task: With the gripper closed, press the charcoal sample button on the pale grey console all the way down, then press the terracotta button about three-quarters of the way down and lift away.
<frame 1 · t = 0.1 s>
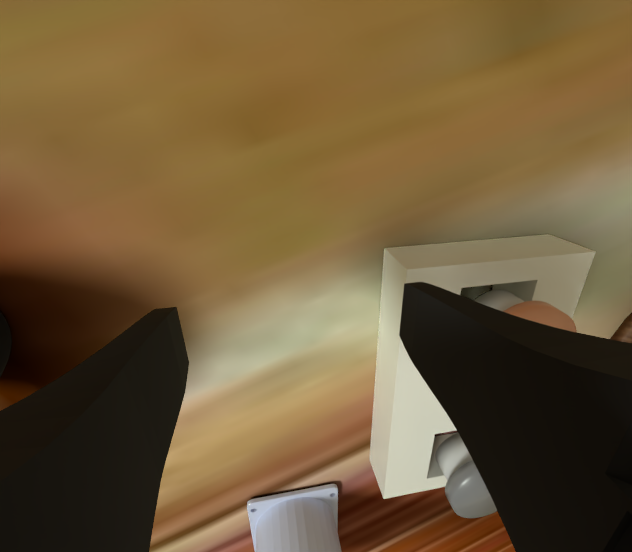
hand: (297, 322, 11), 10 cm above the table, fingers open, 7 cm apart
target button: (509, 333, 19), point 5 cm above the table, slide at 0.0 cm
sample button: (472, 470, 25), point 5 cm above the table, slide at 0.0 cm
console: (448, 360, 27), on the table
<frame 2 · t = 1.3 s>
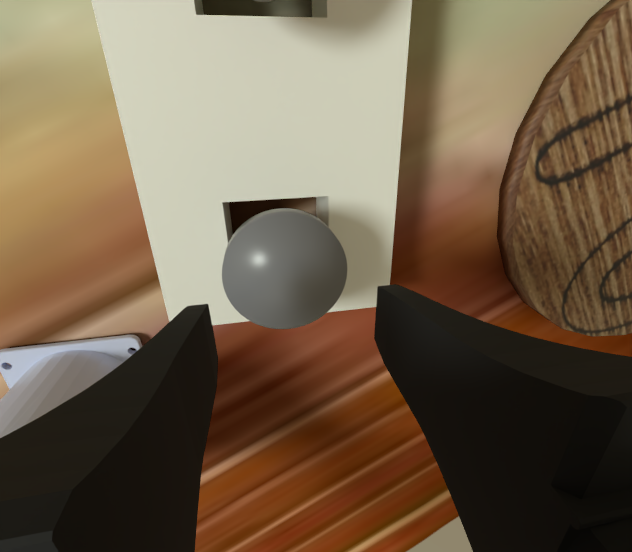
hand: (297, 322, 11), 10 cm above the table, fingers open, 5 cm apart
sample button: (282, 260, 15), point 5 cm above the table, slide at 0.0 cm
console: (267, 118, 17), on the table
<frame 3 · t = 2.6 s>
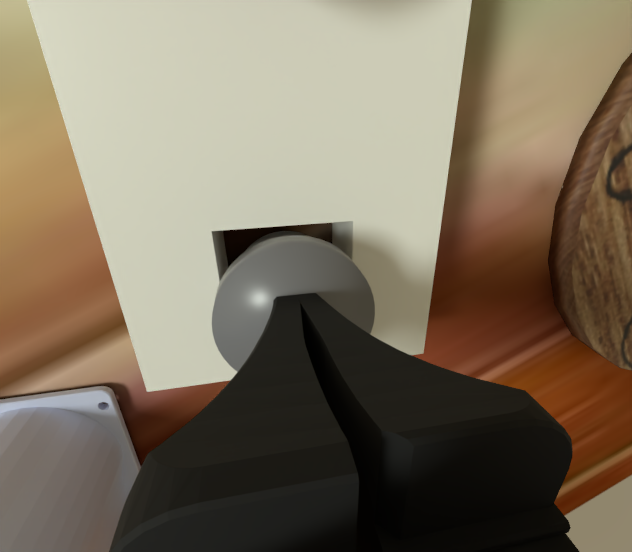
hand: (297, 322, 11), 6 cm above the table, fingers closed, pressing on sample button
sample button: (290, 297, 12), point 4 cm above the table, slide at 0.9 cm, touching gripper
console: (271, 117, 13), on the table
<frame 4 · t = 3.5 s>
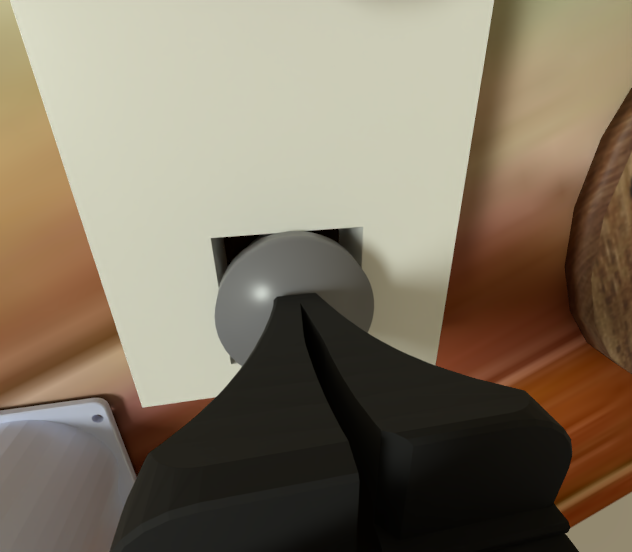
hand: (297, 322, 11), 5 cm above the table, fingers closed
sample button: (291, 292, 12), point 3 cm above the table, slide at 2.1 cm
console: (274, 115, 13), on the table
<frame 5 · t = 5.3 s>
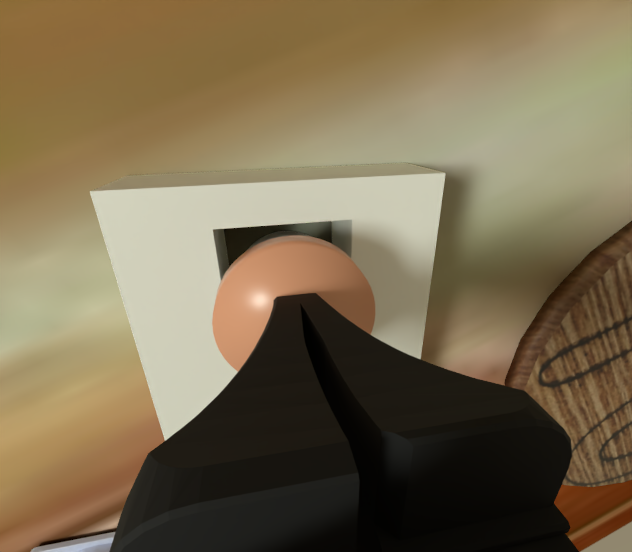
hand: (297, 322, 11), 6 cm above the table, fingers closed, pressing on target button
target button: (291, 297, 12), point 4 cm above the table, slide at 0.7 cm, touching gripper
console: (288, 355, 19), on the table
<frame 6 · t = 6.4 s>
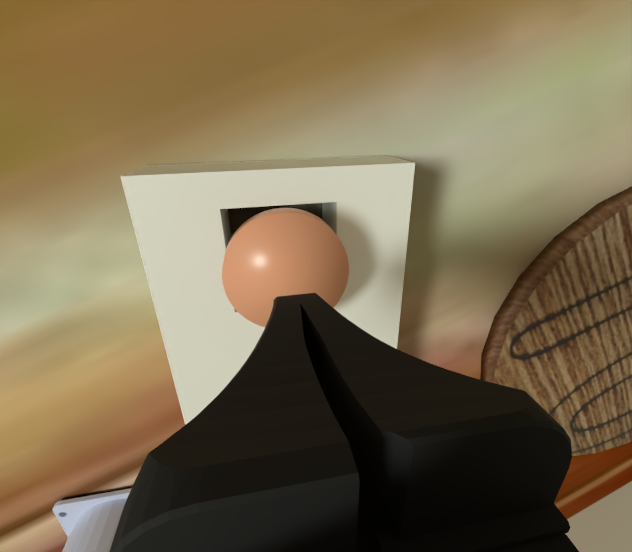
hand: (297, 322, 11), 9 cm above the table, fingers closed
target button: (283, 260, 15), point 4 cm above the table, slide at 1.4 cm
console: (284, 327, 21), on the table
trivet: (617, 326, 27), on the table
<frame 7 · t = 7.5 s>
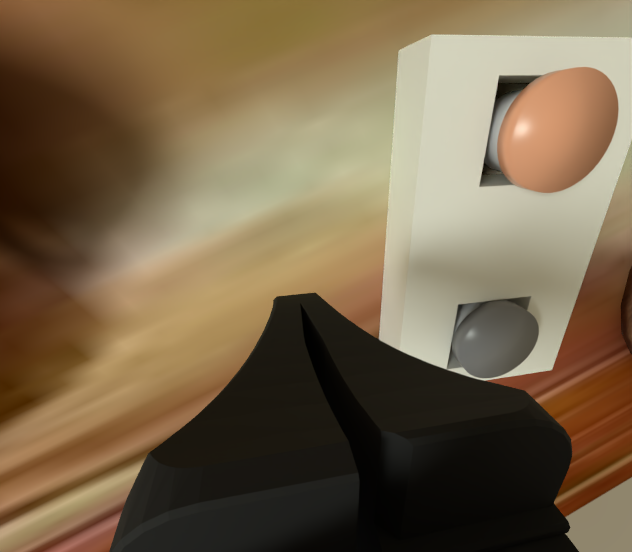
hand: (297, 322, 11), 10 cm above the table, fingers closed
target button: (535, 133, 17), point 4 cm above the table, slide at 1.4 cm
sample button: (482, 329, 22), point 3 cm above the table, slide at 2.1 cm
console: (471, 229, 22), on the table
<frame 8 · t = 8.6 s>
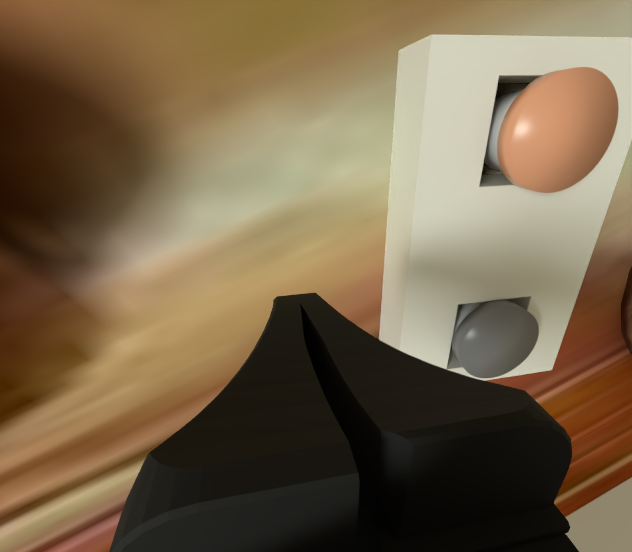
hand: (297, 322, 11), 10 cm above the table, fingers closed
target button: (535, 133, 17), point 4 cm above the table, slide at 1.4 cm
sample button: (482, 329, 22), point 3 cm above the table, slide at 2.1 cm
console: (471, 229, 22), on the table
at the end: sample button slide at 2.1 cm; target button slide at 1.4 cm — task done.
